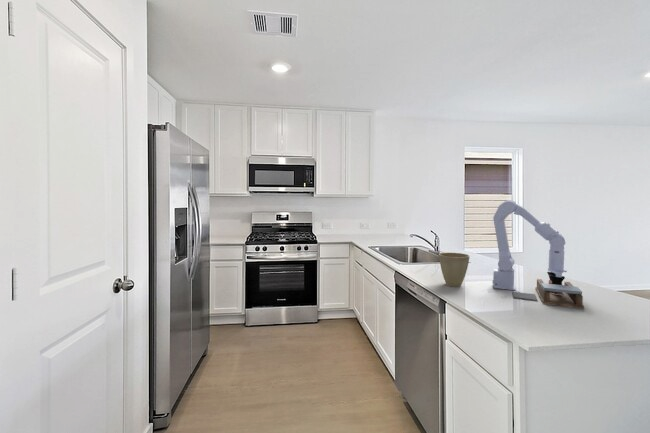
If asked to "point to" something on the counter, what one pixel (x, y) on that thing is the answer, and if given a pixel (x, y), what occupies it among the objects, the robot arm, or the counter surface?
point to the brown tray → (559, 297)
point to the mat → (524, 296)
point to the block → (553, 291)
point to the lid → (561, 288)
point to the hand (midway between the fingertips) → (555, 288)
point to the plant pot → (454, 267)
